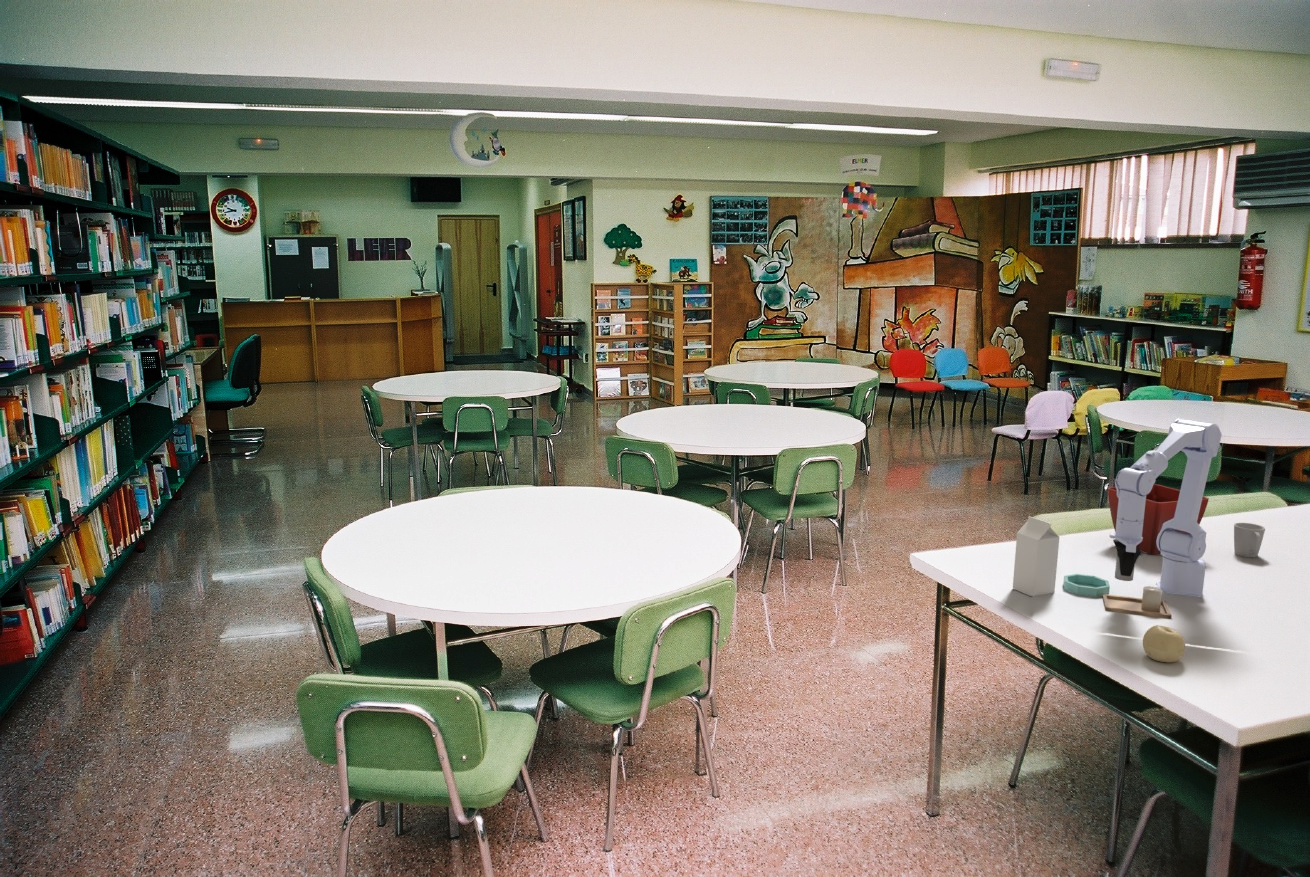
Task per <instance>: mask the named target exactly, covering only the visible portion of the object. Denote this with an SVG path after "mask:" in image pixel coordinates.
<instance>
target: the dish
mask: <svg viewBox="0 0 1310 877" xmlns="http://www.w3.org/2000/svg"><path fill="white" fill-rule="evenodd" d="M1063 590H1065V591H1067V592H1070V593H1073V594H1075V595H1078V596H1086V597H1094V598H1097V597H1098V598H1099V597H1102V594H1108V595H1110V590H1111V589H1110V583H1109V580H1107V579H1103V578H1101V577H1099V576H1095V575H1090V574H1081V573H1072V574H1068V575H1064V576H1063Z"/></svg>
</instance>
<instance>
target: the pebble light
mask: <svg viewBox="0 0 1310 877" xmlns="http://www.w3.org/2000/svg"><path fill="white" fill-rule="evenodd" d="M1162 595H1163V593H1162V590H1161V589H1160V588H1158V586H1157V587H1155V586H1150V585H1149V586H1144V587H1143V588H1142V596H1141V598H1142V605H1141V608H1142V609H1143V610H1146V611H1150V612H1159V611H1160V606H1161V601H1162V597H1163V596H1162Z"/></svg>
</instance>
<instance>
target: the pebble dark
mask: <svg viewBox="0 0 1310 877" xmlns="http://www.w3.org/2000/svg"><path fill="white" fill-rule="evenodd" d="M1135 565H1136V564H1135ZM1135 565H1134V568H1133V571H1132V574H1131V576H1122V575H1121V573H1120V563H1119V556H1118V557H1117V556H1116V560H1115V571H1114V578H1115V580H1118V581H1123V582H1131V581H1133V580H1134V574H1135Z"/></svg>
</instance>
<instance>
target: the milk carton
mask: <svg viewBox="0 0 1310 877" xmlns="http://www.w3.org/2000/svg"><path fill="white" fill-rule="evenodd" d="M1051 525H1052V524H1051V522H1048V521H1045V520H1043V519H1040V518H1036V517H1032V516H1030V515H1028V517H1027V521H1026V522H1025V523H1024V524H1023V525H1022V527H1020V529H1018V531H1017V532H1016V543H1015V553H1014V555H1015V556H1014V565H1013V566H1014V567H1013V577H1012V578H1013V580H1012V589H1014V590H1016V591H1018V592H1020V593H1023V594H1024V595H1027V596H1030V597H1031V598H1032V597H1037V596H1042V595H1048V594H1052V593H1053V594H1054V593H1055V590H1056V589H1055V588H1056V581H1057V580H1056V579H1057V569H1058V557H1059V548H1060V547H1059V546H1060V544H1059V543H1060V536H1059V534H1057V533H1056V532H1055V531H1054V529H1052V528H1051Z"/></svg>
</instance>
